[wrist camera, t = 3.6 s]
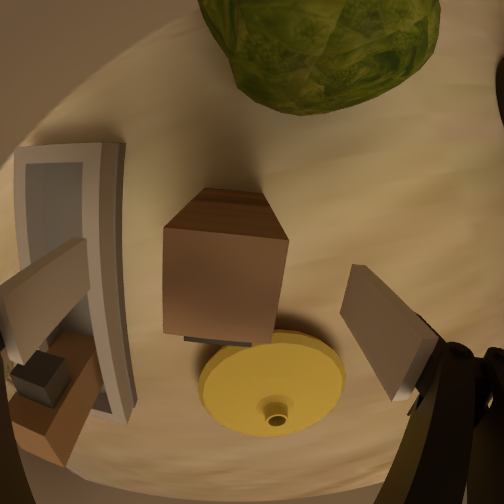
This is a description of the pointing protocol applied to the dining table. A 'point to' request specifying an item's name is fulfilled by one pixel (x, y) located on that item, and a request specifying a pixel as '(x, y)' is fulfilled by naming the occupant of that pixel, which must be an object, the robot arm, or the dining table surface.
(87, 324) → the brown blocky pieces
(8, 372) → the mug
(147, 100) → the dining table surface
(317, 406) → the yellow curved piece
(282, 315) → the dining table surface
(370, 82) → the lettuce
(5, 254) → the dining table surface
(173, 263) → the brown tall block
